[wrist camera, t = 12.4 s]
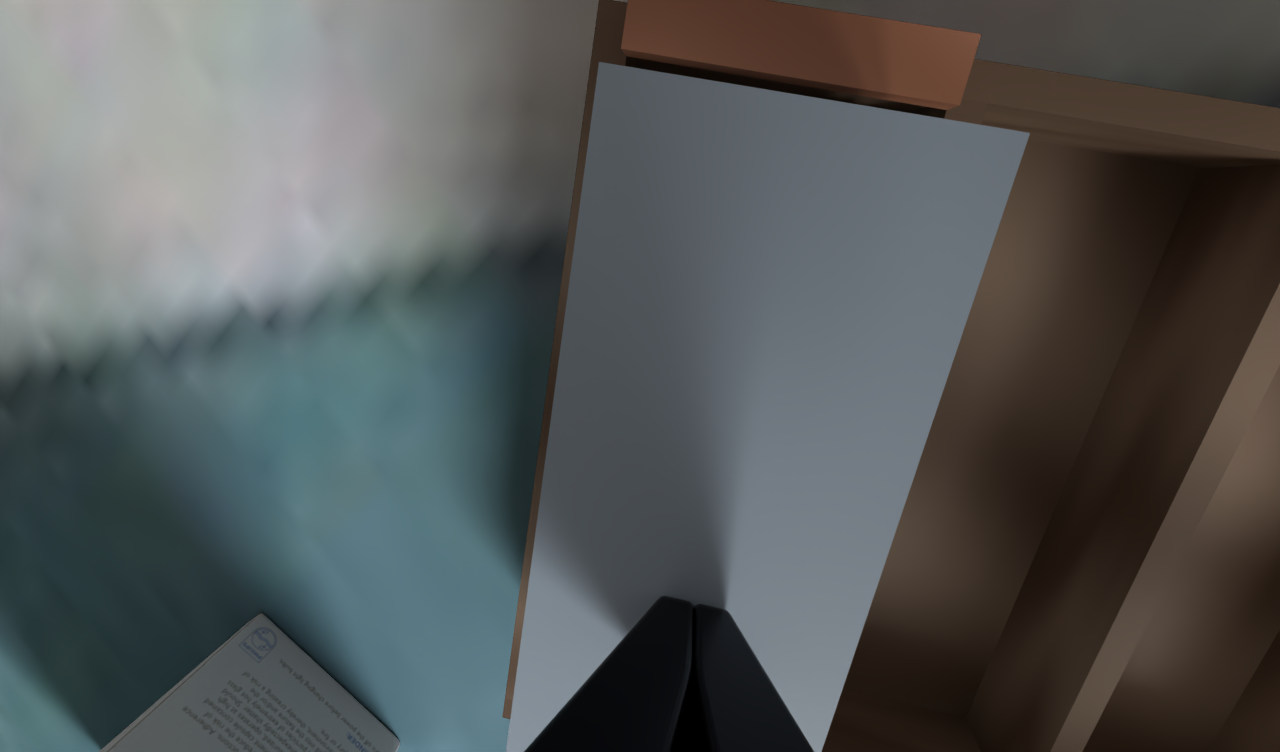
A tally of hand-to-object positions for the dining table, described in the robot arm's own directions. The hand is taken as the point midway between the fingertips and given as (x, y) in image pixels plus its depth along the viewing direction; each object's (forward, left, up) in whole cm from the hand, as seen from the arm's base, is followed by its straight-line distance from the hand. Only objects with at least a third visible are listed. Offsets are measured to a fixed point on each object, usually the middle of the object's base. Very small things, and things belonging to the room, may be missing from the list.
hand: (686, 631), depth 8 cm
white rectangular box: (0, 0, -8) cm, 8 cm away
